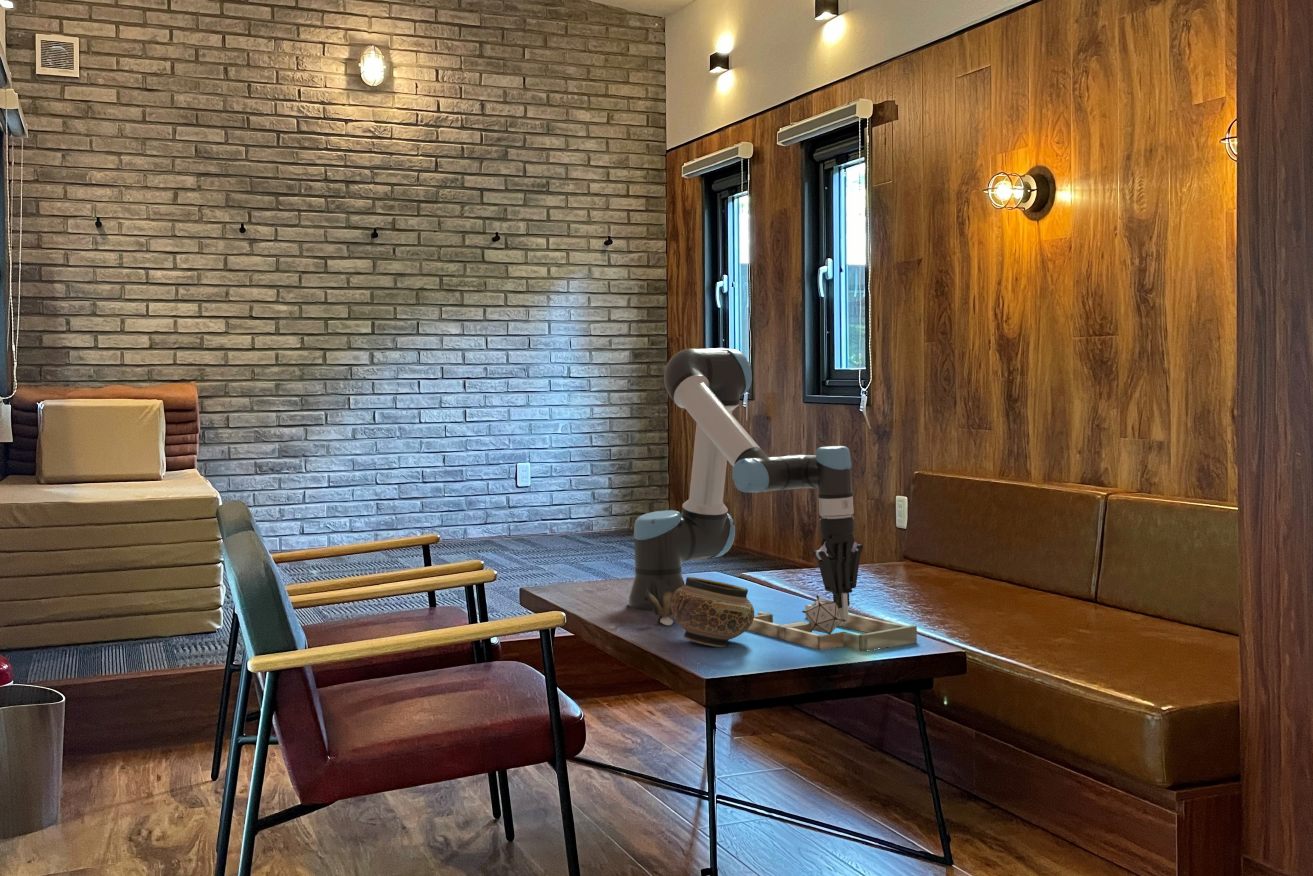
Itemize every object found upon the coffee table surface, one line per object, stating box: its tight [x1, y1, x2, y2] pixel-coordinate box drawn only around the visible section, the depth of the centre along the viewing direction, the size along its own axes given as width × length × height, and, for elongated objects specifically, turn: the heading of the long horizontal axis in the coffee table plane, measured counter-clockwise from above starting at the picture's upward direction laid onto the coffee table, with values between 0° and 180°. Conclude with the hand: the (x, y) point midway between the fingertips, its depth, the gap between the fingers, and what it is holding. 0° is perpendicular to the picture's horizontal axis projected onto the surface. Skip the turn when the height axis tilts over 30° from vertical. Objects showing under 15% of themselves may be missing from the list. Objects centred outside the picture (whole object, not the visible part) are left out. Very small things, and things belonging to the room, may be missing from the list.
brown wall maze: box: [746, 604, 918, 652], centre depth 268 cm, size 35×21×4 cm, turn 33°
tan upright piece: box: [646, 586, 676, 626], centre depth 281 cm, size 8×7×9 cm
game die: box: [801, 595, 846, 635], centre depth 267 cm, size 9×8×10 cm
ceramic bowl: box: [671, 576, 755, 648], centre depth 259 cm, size 24×18×15 cm
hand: (842, 621), depth 270 cm, fingers closed
